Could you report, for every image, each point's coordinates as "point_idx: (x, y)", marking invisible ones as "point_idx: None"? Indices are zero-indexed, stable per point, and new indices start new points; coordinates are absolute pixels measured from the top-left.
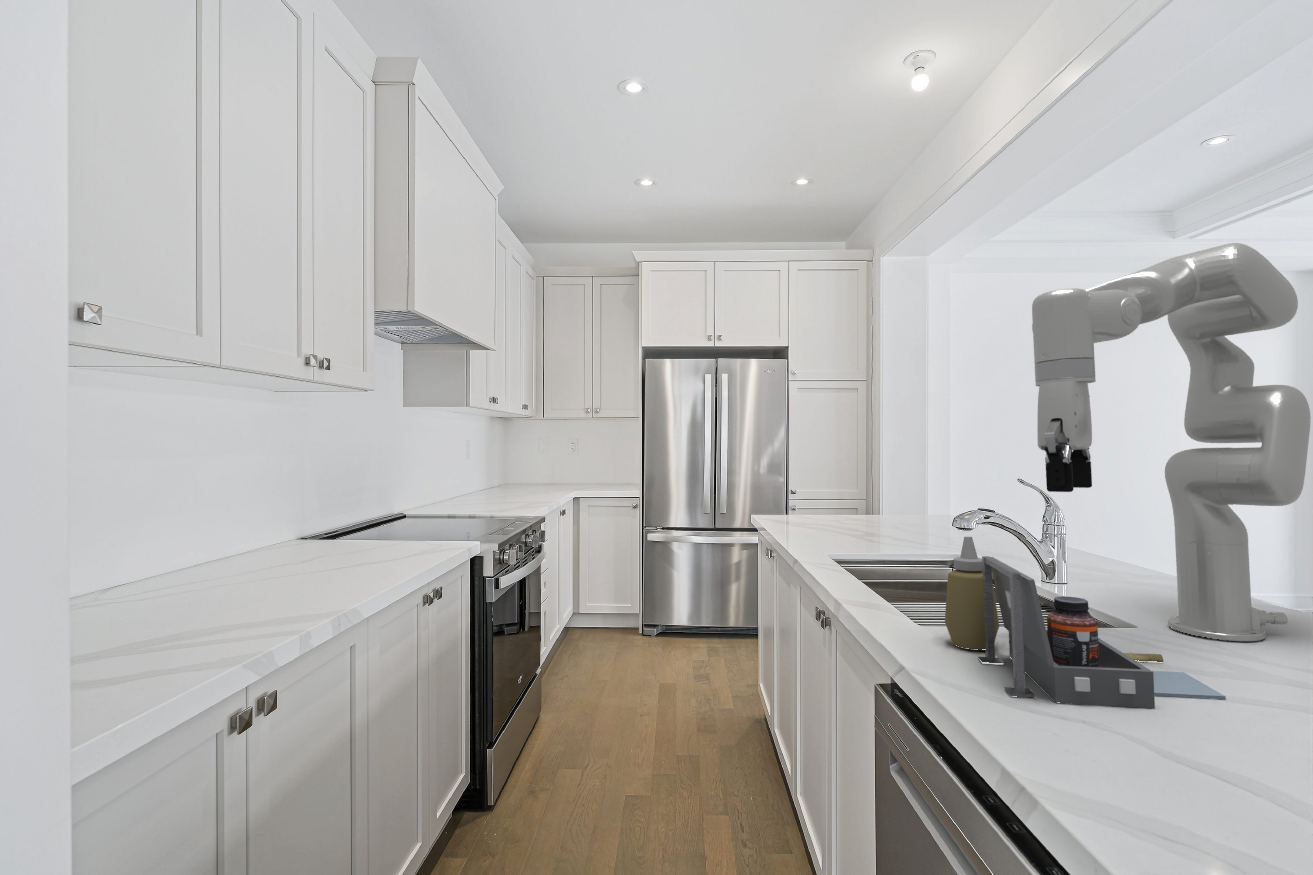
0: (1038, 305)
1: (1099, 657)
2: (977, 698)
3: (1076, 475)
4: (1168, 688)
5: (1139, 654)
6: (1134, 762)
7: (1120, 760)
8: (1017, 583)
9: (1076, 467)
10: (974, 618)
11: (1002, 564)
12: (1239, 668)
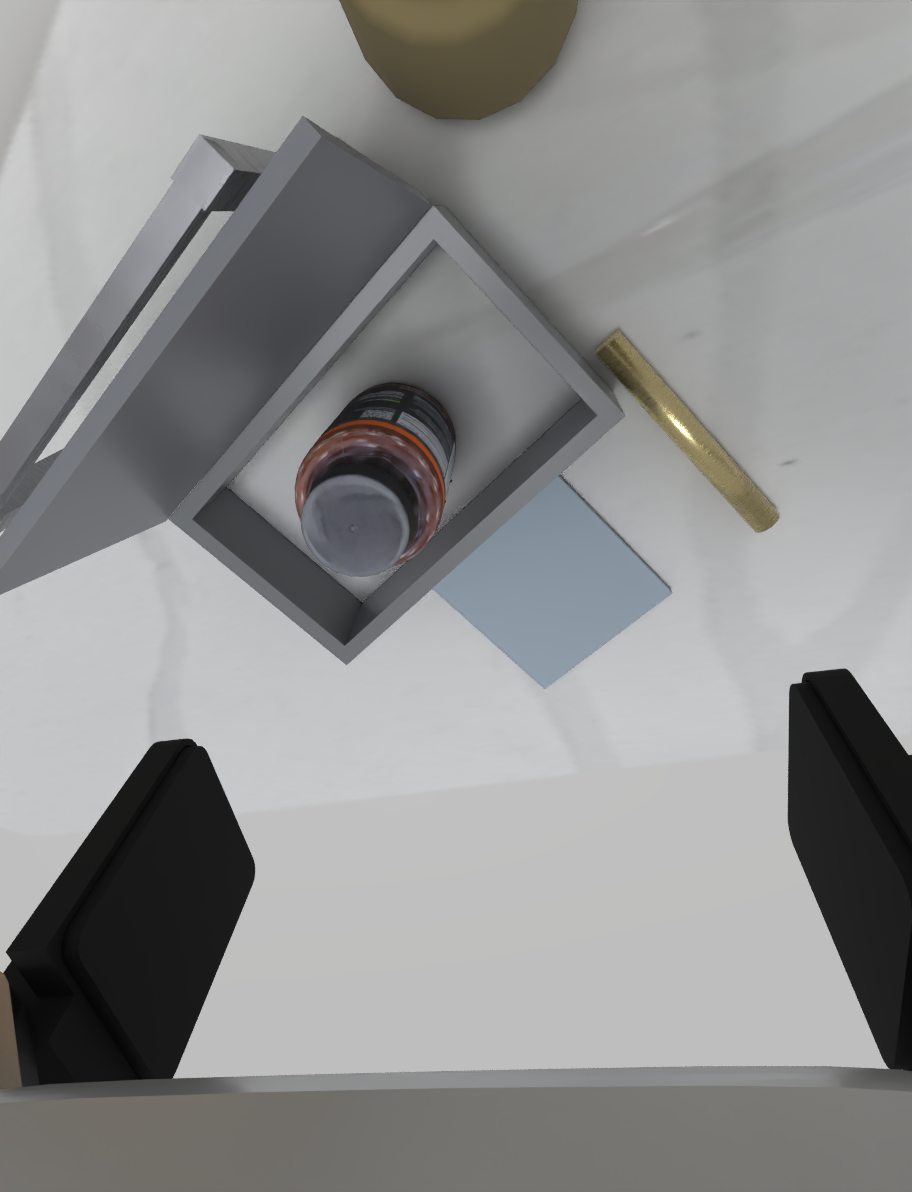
0: None
1: (518, 472)
2: (55, 354)
3: (832, 836)
4: (501, 609)
5: (729, 489)
6: (85, 675)
7: (71, 661)
8: None
9: (872, 922)
10: (369, 58)
11: (76, 384)
12: (839, 650)
